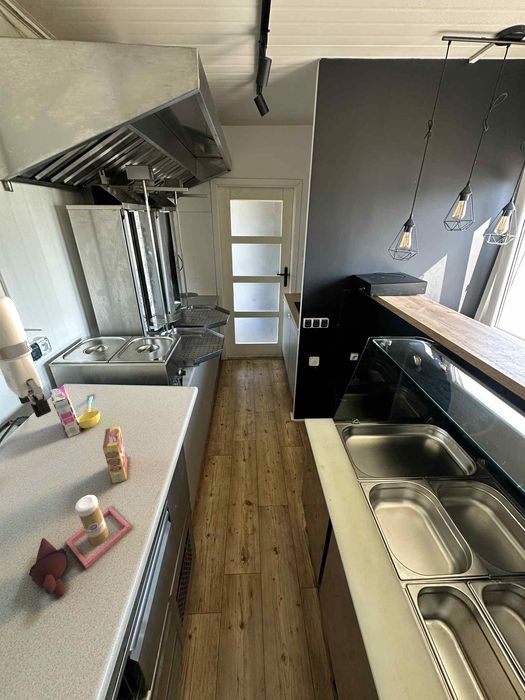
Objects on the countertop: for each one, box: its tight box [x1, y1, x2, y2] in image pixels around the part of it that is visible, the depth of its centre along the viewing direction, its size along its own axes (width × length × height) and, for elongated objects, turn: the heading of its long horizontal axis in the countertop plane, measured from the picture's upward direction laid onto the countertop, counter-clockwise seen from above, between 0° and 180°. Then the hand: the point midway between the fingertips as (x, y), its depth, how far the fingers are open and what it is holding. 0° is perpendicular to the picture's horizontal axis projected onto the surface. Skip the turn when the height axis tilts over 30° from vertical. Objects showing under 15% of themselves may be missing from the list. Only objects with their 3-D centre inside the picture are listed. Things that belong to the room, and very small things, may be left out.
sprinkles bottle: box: [74, 494, 110, 546], centre depth 71 cm, size 5×5×14 cm
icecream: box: [28, 537, 68, 599], centre depth 66 cm, size 7×7×15 cm
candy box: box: [102, 426, 129, 484], centre depth 90 cm, size 9×4×15 cm, turn 20°
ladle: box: [77, 395, 101, 429], centre depth 120 cm, size 9×26×6 cm, turn 27°
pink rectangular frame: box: [65, 506, 132, 569], centre depth 74 cm, size 12×10×2 cm
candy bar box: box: [50, 385, 83, 438], centre depth 108 cm, size 11×5×16 cm, turn 38°
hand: (36, 407), depth 75 cm, fingers open, 9 cm apart
